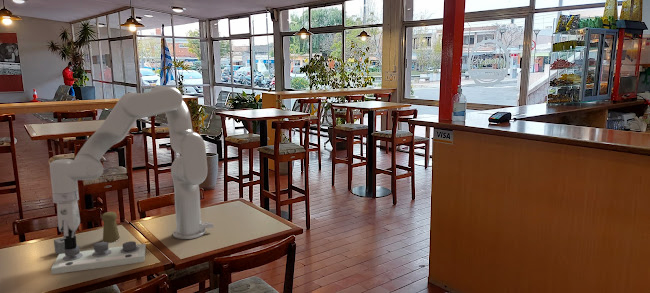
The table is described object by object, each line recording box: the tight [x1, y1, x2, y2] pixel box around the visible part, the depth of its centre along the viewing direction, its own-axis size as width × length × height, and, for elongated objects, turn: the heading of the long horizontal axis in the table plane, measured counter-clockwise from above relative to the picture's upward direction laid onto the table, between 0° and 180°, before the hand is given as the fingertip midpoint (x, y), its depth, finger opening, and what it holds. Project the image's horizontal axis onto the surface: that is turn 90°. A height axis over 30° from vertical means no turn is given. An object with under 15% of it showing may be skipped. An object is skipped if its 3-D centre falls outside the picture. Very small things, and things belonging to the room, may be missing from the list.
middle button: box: [93, 241, 109, 252], centre depth 156 cm, size 4×4×2 cm
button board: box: [50, 243, 147, 275], centre depth 155 cm, size 28×12×2 cm, turn 109°
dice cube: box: [53, 236, 65, 256], centre depth 162 cm, size 5×5×5 cm
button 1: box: [65, 245, 81, 256], centre depth 153 cm, size 4×4×2 cm
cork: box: [101, 211, 121, 243], centre depth 173 cm, size 6×6×11 cm
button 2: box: [122, 240, 137, 252], centre depth 159 cm, size 4×4×2 cm
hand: (71, 248), depth 153 cm, fingers closed
